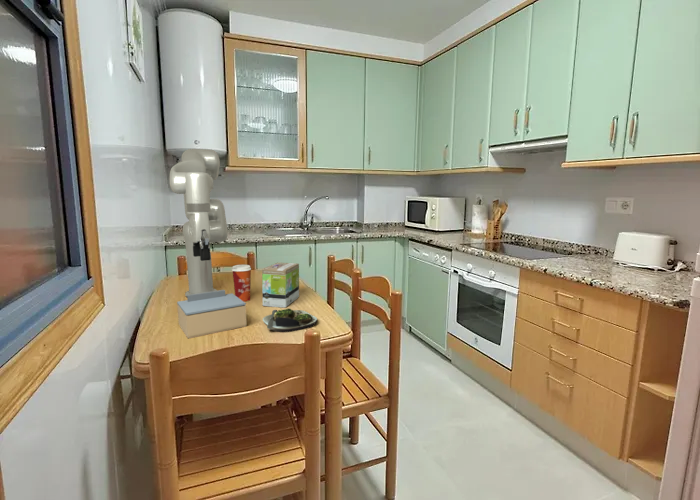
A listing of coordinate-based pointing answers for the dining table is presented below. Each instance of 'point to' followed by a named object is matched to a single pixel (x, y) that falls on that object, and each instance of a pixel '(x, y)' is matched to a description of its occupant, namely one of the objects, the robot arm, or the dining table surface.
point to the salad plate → (289, 320)
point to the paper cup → (242, 281)
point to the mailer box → (212, 321)
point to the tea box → (280, 284)
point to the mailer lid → (209, 302)
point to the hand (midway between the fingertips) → (201, 258)
